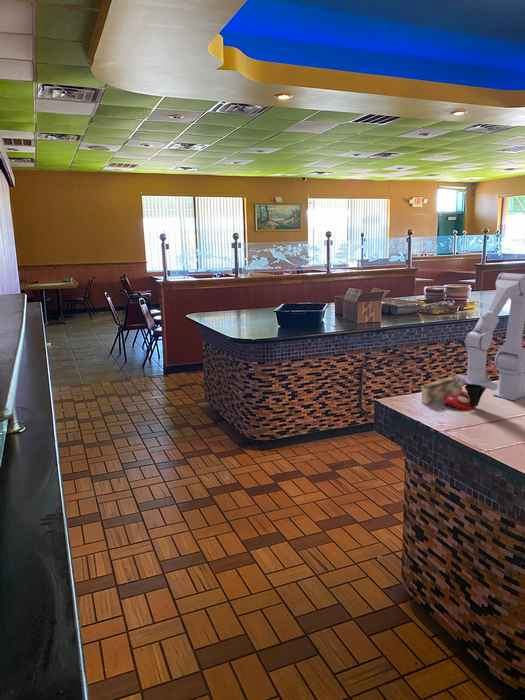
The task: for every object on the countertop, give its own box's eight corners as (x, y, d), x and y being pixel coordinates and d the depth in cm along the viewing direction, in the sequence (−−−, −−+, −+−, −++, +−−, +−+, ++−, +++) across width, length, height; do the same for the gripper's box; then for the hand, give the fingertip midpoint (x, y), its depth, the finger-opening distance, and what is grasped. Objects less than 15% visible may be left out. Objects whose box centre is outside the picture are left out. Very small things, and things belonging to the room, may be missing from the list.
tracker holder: (478, 408, 177) (448, 401, 178) (474, 418, 179) (444, 412, 180) (472, 389, 188) (443, 383, 189) (467, 399, 190) (439, 393, 191)
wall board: (457, 391, 198) (458, 373, 196) (464, 393, 196) (464, 375, 194) (421, 402, 187) (422, 384, 186) (428, 404, 185) (428, 386, 183)
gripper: (450, 364, 180) (449, 402, 183) (489, 373, 169) (486, 413, 172) (463, 361, 184) (461, 398, 187) (502, 369, 172) (499, 409, 175)
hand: (474, 405), depth 180 cm, fingers closed
